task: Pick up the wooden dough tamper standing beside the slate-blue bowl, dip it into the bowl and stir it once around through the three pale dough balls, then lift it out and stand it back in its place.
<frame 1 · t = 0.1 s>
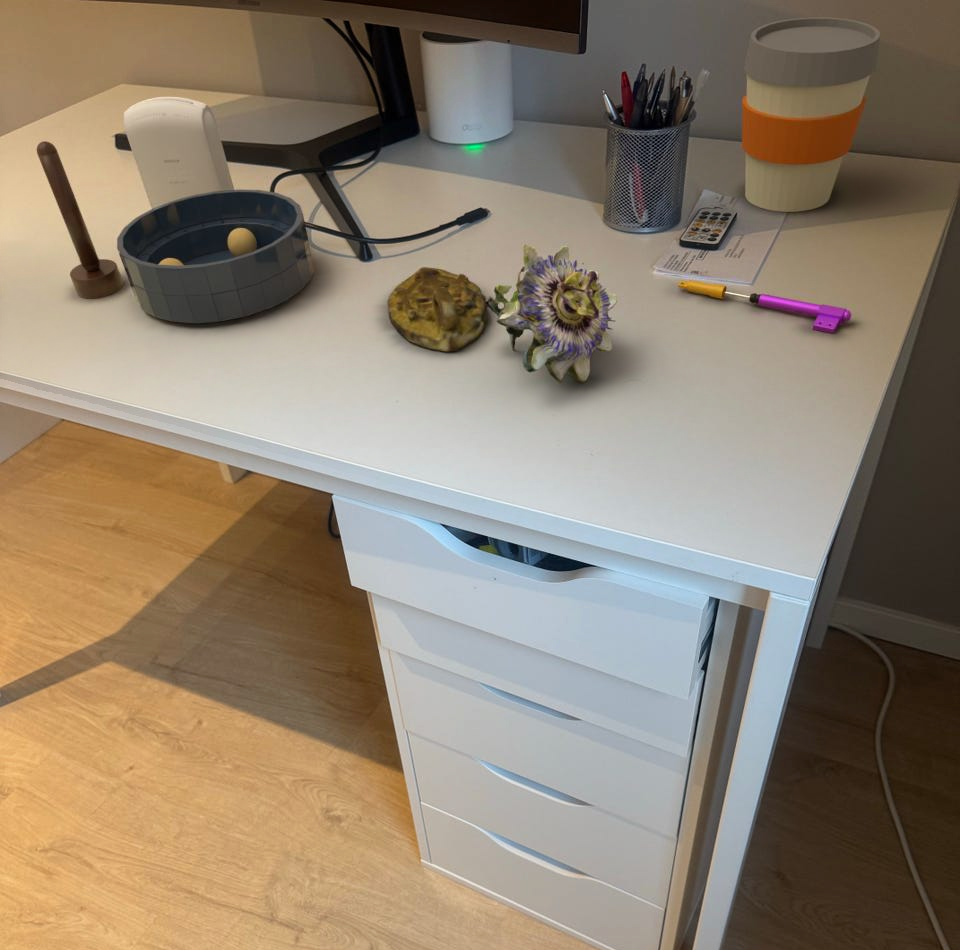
dough ball c: (249, 278, 89), point 2 cm above the table, touching bowl
lumpy olive cookie: (438, 316, 86), on the table
dough ball a: (242, 243, 95), point 2 cm above the table, touching bowl
passion flower: (548, 363, 79), on the table
dough ball b: (172, 274, 91), point 2 cm above the table, touching bowl
wooden dough tamper: (100, 287, 95), on the table
bowl: (227, 284, 93), on the table
photo printer: (198, 217, 107), on the table
reusable coffee cup: (786, 196, 99), on the table
piston cylinder: (756, 312, 82), on the table
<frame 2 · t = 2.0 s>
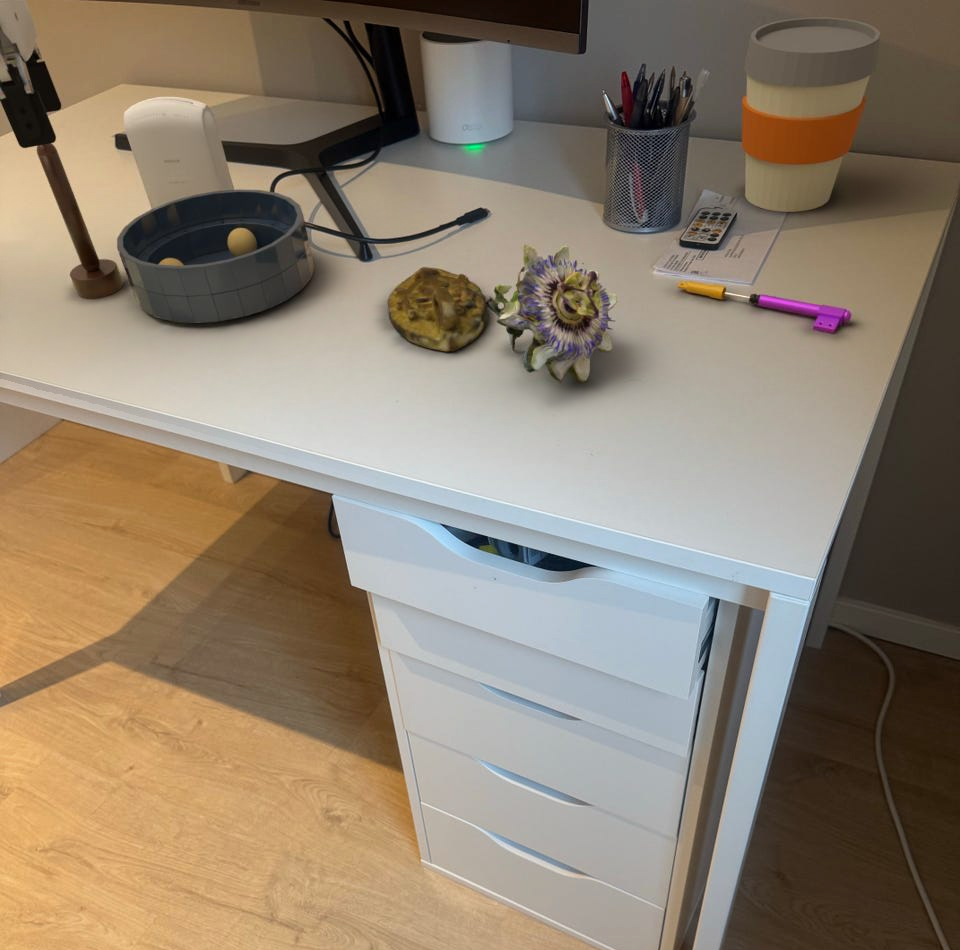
hand: (42, 127, 84), 15 cm above the table, tool pointing down, fingers open, 9 cm apart
nothing on the table moved.
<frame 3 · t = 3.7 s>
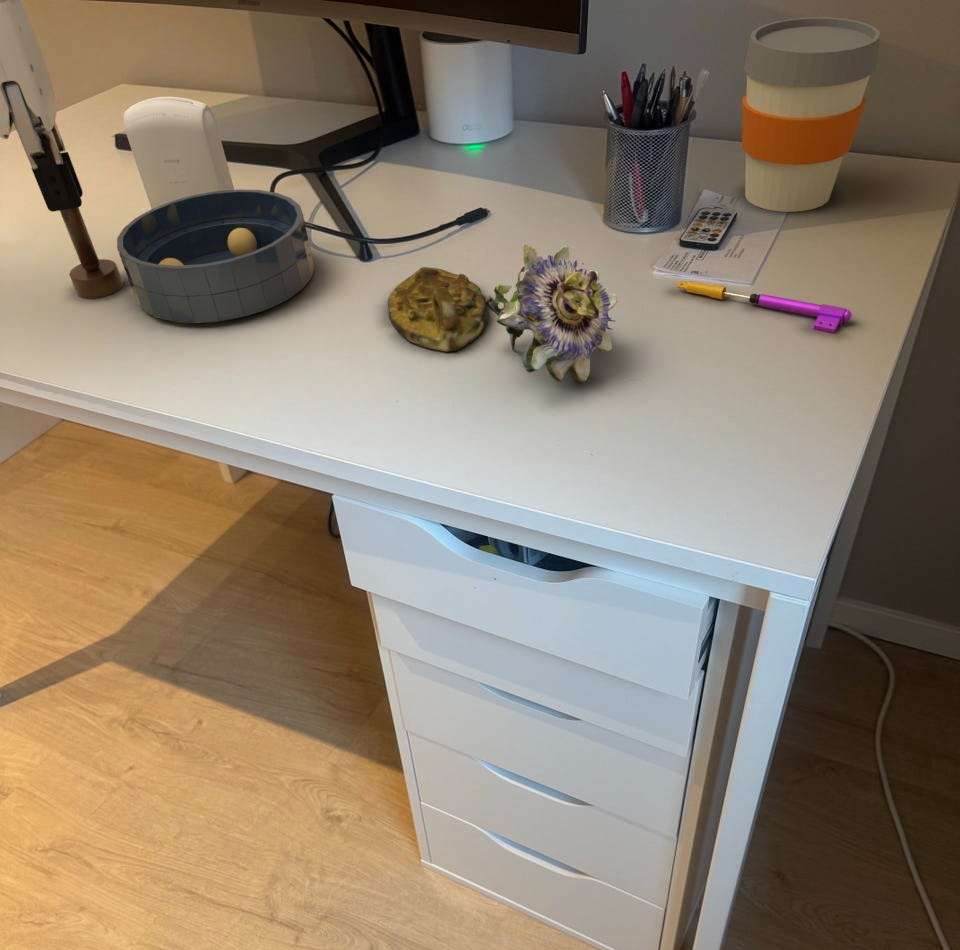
hand: (66, 201, 89), 9 cm above the table, tool pointing down, fingers closed on wooden dough tamper
wooden dough tamper: (99, 287, 95), on the table, touching gripper
everything else where it was.
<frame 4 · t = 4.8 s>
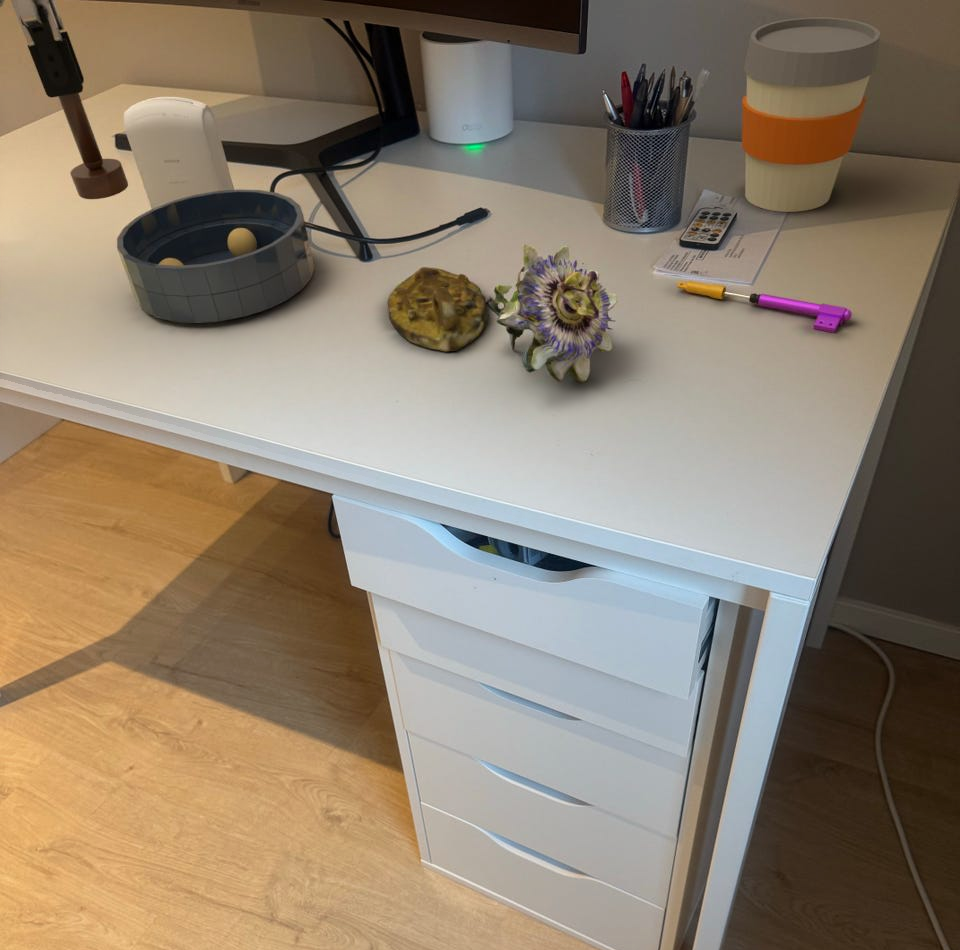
hand: (66, 88, 81), 18 cm above the table, tool pointing down, fingers closed on wooden dough tamper
wooden dough tamper: (103, 189, 88), point 10 cm above the table, touching gripper
everything else where it was.
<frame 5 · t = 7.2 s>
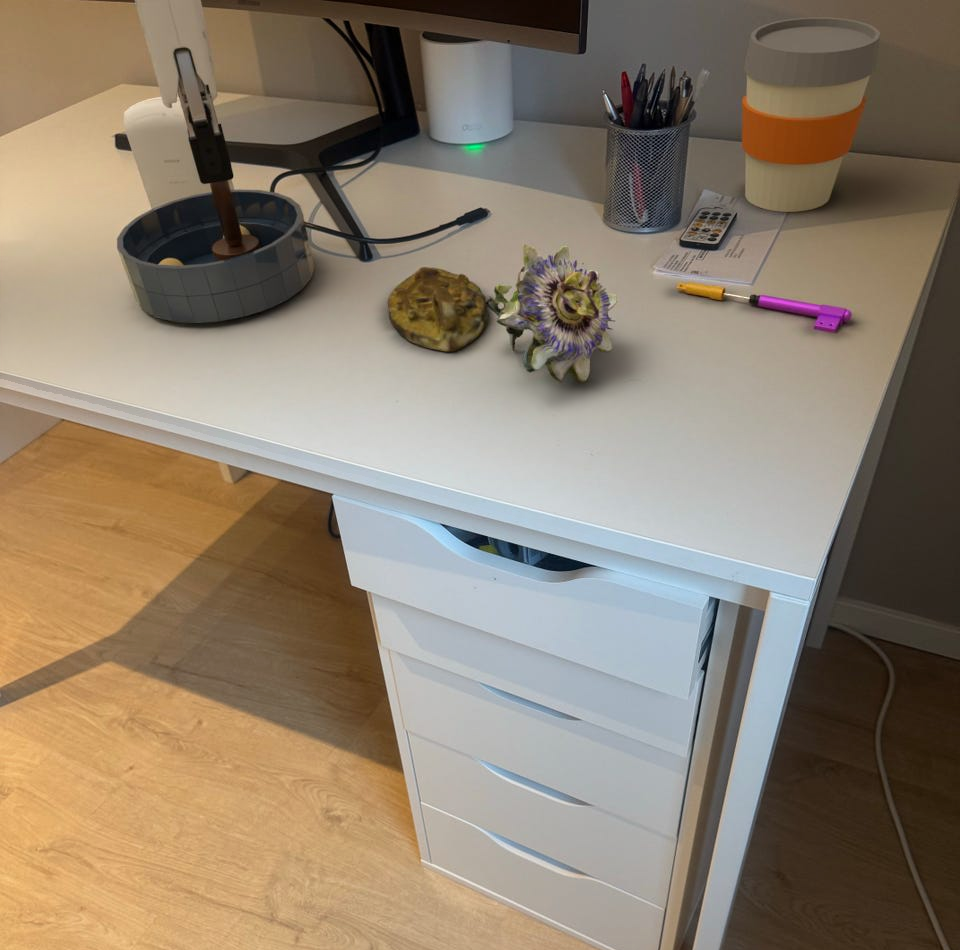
hand: (216, 174, 87), 10 cm above the table, tool pointing down, fingers closed on wooden dough tamper
dough ball a: (237, 240, 96), point 2 cm above the table, tilted 37°, touching bowl, wooden dough tamper
wooden dough tamper: (240, 263, 94), point 1 cm above the table, touching dough ball a, gripper
everything else where it was.
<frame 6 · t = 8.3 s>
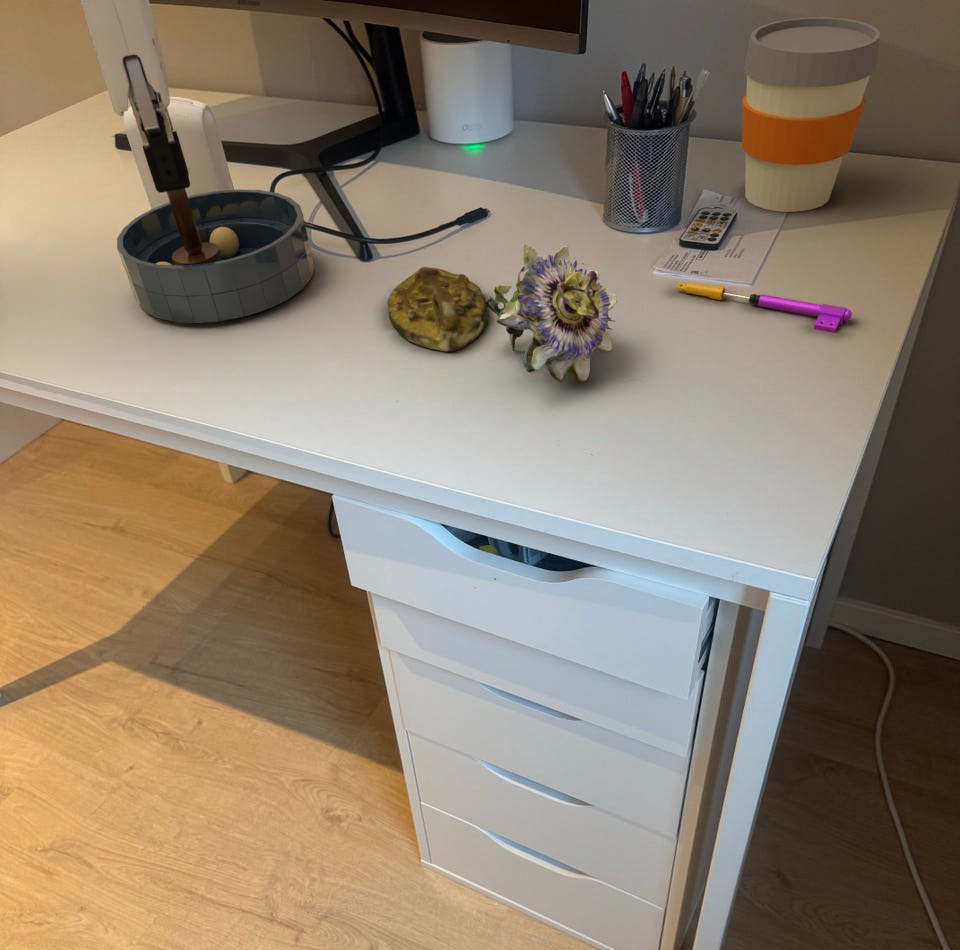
hand: (173, 182, 86), 10 cm above the table, tool pointing down, fingers closed on wooden dough tamper
dough ball a: (224, 242, 95), point 2 cm above the table, tilted 29°, touching bowl
dough ball b: (164, 277, 90), point 2 cm above the table, tilted 35°, touching bowl, wooden dough tamper
wooden dough tamper: (201, 271, 93), point 1 cm above the table, touching dough ball b, gripper
everything else where it was.
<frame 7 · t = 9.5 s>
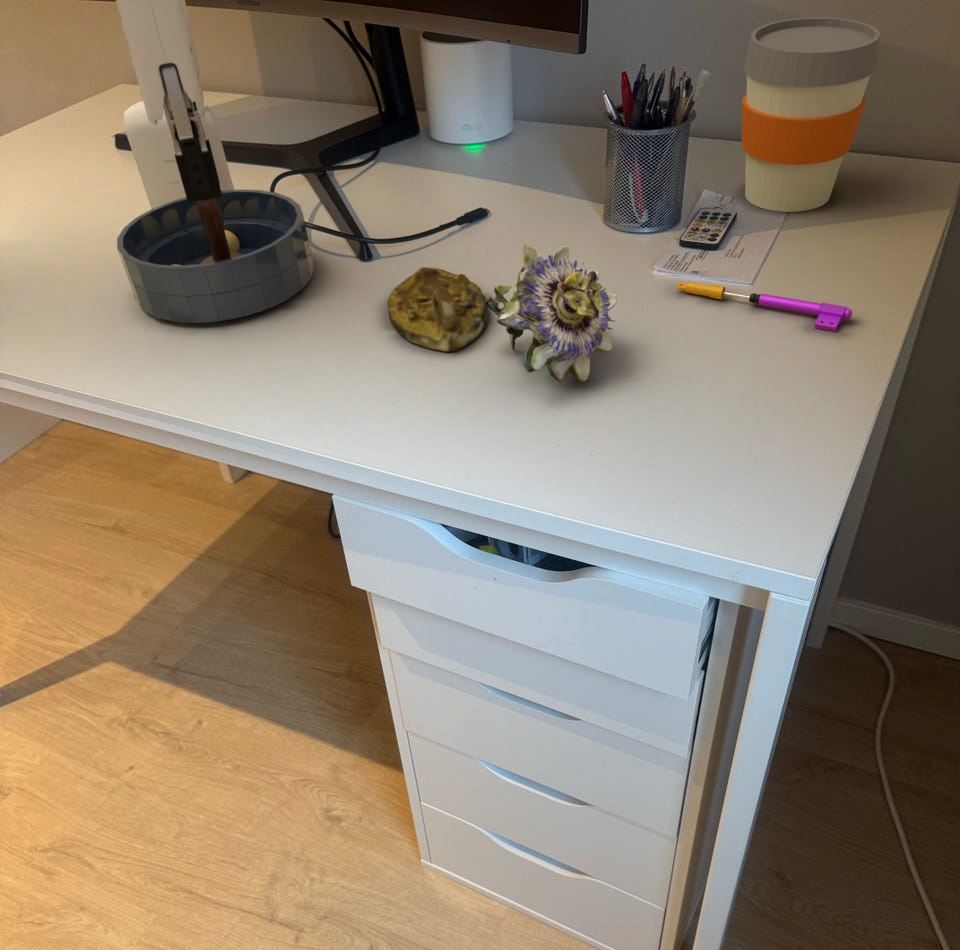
hand: (204, 192, 84), 10 cm above the table, tool pointing down, fingers closed on wooden dough tamper
dough ball c: (259, 277, 89), point 2 cm above the table, tilted 27°, touching bowl, wooden dough tamper
dough ball a: (224, 245, 95), point 2 cm above the table, tilted 23°, touching bowl
dough ball b: (177, 280, 90), point 2 cm above the table, tilted 24°, touching bowl
wooden dough tamper: (228, 282, 91), point 1 cm above the table, touching dough ball c, gripper
everything else where it was.
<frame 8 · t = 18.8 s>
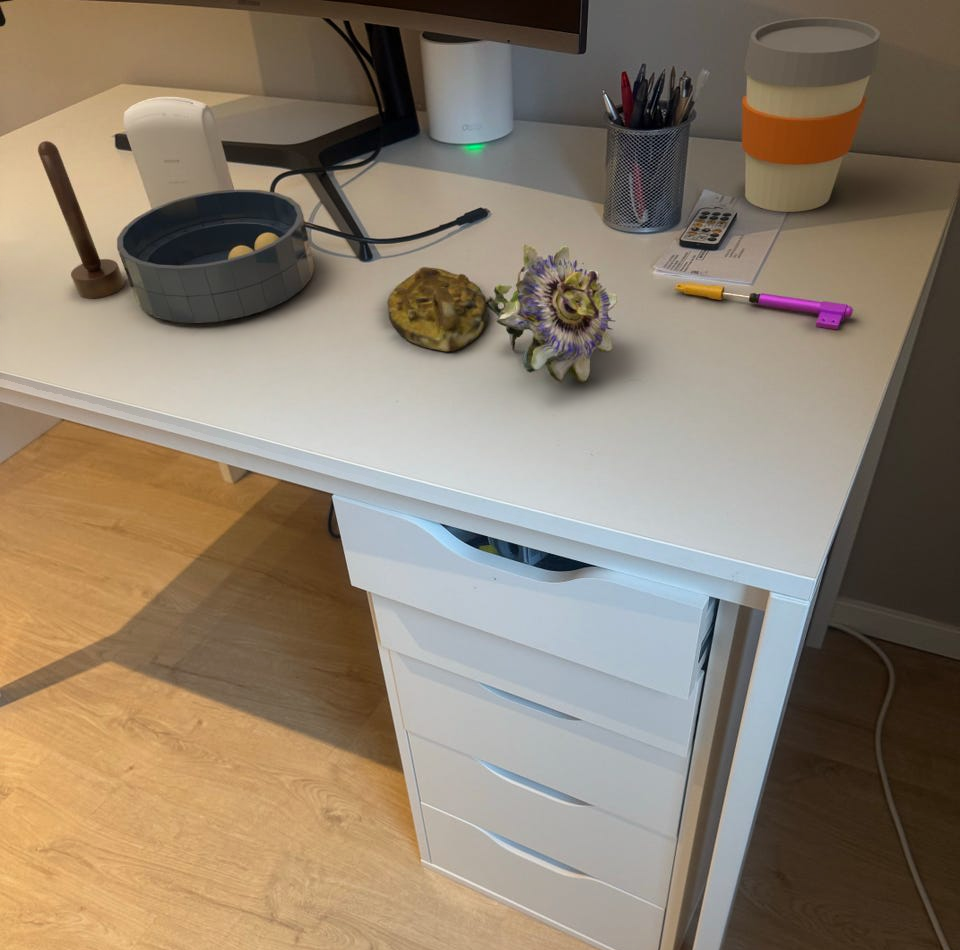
dough ball c: (268, 267, 90), point 2 cm above the table, touching bowl
dough ball a: (269, 248, 94), point 2 cm above the table, tilted 91°, touching bowl
dough ball b: (243, 261, 92), point 2 cm above the table, tilted 94°, touching bowl
wooden dough tamper: (101, 287, 95), on the table
everything else where it was.
at the end: dough ball a moved 3.6 cm from its start; dough ball a inside the target area in the bowl (5.4 cm from its centre), point 2.1 cm above the bowl's base; wooden dough tamper 0.1 cm from the target spot, on the table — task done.
